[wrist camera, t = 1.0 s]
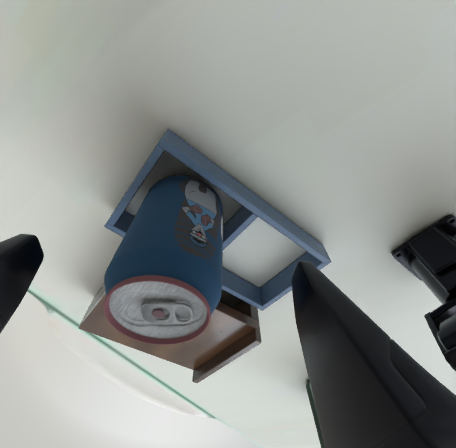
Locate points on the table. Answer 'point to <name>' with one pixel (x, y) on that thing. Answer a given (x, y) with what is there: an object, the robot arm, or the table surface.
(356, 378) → the robot arm
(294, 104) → the table surface
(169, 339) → the soda can
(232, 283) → the blue rack
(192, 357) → the shelf
